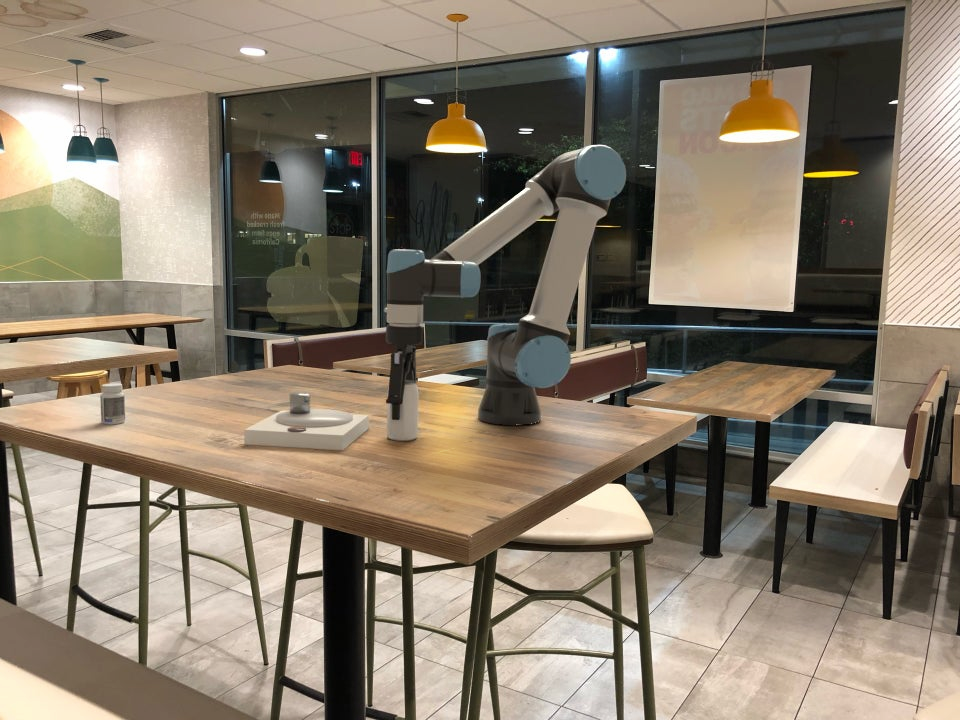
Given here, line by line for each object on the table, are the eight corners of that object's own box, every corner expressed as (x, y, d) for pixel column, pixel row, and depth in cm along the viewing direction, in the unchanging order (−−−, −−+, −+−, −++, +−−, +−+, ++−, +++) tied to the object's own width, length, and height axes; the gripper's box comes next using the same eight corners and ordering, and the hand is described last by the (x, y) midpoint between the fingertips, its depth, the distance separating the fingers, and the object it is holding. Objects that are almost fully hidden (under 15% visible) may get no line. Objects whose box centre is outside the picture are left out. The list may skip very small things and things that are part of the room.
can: (412, 442, 154) (413, 385, 152) (382, 440, 155) (383, 383, 153) (421, 435, 160) (422, 380, 158) (392, 433, 161) (393, 378, 160)
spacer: (313, 410, 165) (313, 392, 164) (306, 414, 160) (306, 396, 160) (293, 409, 165) (293, 391, 165) (286, 413, 161) (286, 395, 160)
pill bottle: (130, 421, 164) (129, 384, 163) (111, 425, 160) (110, 387, 159) (115, 419, 166) (113, 382, 165) (96, 423, 162) (94, 384, 161)
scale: (369, 427, 166) (370, 411, 166) (342, 450, 146) (343, 432, 145) (283, 422, 168) (283, 406, 168) (244, 444, 148) (244, 426, 147)
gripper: (398, 320, 166) (396, 416, 169) (372, 328, 143) (371, 440, 146) (431, 321, 165) (429, 418, 168) (411, 330, 143) (408, 442, 145)
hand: (402, 428), depth 157 cm, fingers open, 11 cm apart
